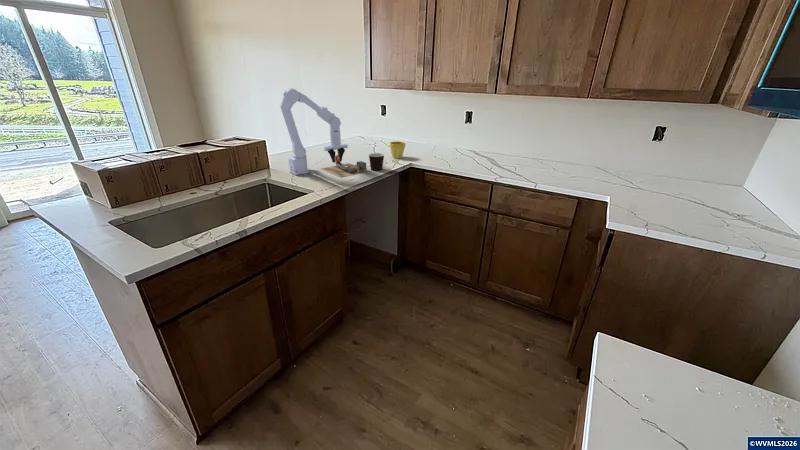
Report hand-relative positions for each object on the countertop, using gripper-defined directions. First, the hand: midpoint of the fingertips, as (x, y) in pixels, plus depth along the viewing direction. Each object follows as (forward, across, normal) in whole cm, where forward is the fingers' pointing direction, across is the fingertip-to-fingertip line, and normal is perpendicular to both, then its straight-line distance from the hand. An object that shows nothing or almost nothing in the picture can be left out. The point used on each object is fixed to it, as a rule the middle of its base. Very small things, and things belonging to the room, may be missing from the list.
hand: (337, 161), depth 195 cm
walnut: (+3, -4, +15) cm, 16 cm away
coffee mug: (+5, -16, +18) cm, 25 cm away
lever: (+3, 0, +8) cm, 8 cm away
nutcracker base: (+4, 0, +9) cm, 10 cm away
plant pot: (+5, -46, -1) cm, 47 cm away
